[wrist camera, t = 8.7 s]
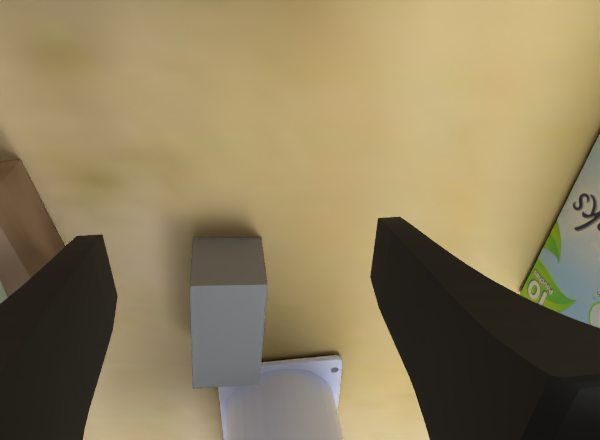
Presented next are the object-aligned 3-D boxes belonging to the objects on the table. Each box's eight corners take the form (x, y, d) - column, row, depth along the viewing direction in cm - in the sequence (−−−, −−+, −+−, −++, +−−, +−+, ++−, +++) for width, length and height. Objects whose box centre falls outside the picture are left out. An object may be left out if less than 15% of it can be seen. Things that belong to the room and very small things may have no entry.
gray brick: (254, 330, 29) (259, 384, 26) (195, 332, 28) (192, 388, 25) (261, 235, 25) (267, 284, 22) (193, 235, 25) (189, 286, 21)
